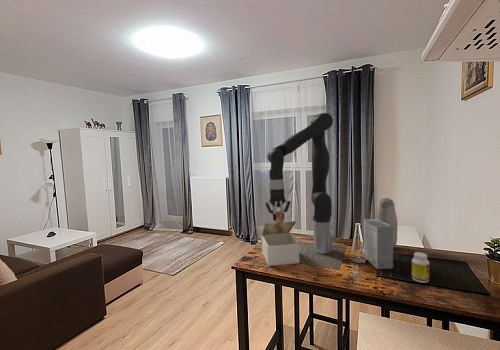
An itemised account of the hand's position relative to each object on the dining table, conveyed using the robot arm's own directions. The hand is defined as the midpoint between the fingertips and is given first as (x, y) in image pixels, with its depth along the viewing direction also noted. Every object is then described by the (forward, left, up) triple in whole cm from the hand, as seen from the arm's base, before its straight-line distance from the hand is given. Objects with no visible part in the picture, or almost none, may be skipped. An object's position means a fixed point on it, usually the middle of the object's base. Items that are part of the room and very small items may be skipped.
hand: (278, 220), depth 137 cm
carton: (0, -1, -21) cm, 20 cm away
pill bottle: (-52, +35, -21) cm, 66 cm away
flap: (0, -2, -5) cm, 6 cm away
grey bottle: (-60, +1, -21) cm, 64 cm away
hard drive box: (-45, +16, -21) cm, 52 cm away
